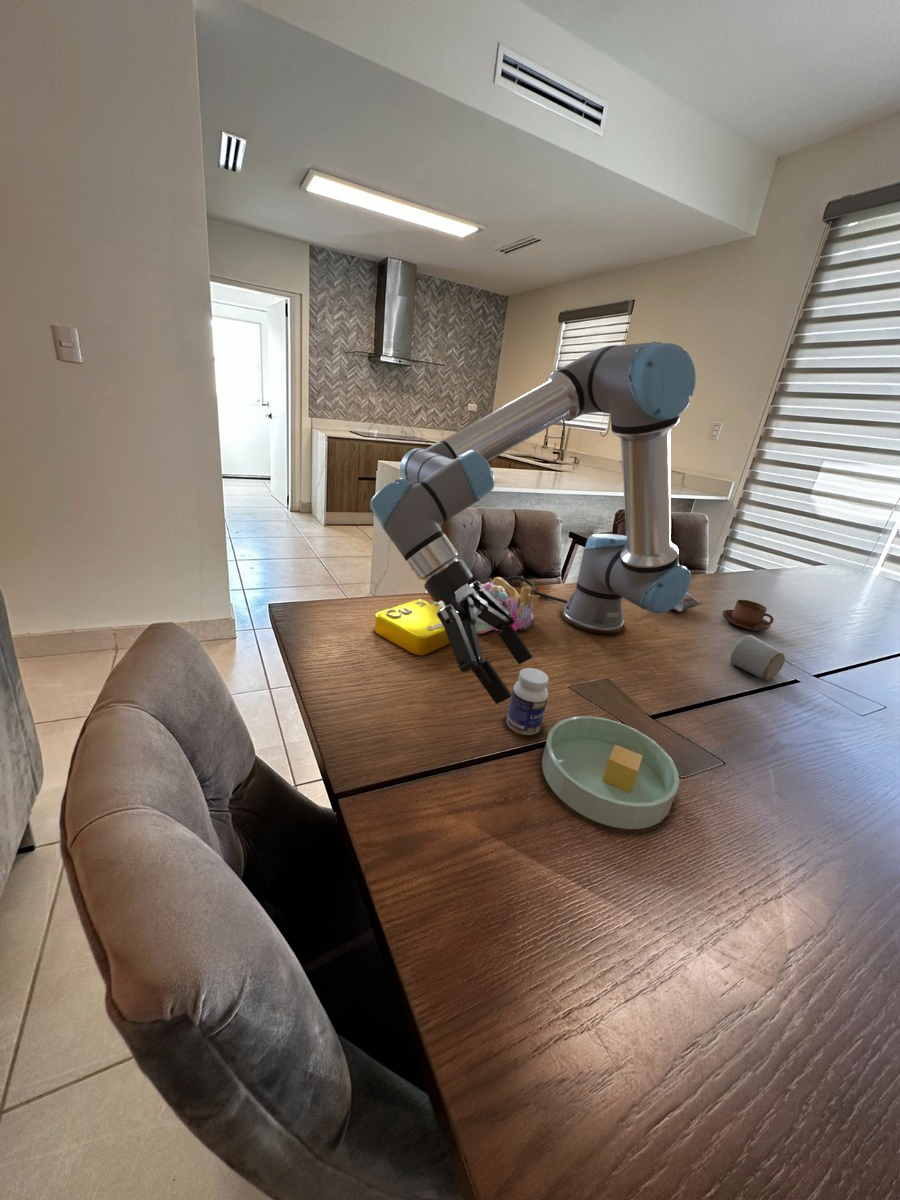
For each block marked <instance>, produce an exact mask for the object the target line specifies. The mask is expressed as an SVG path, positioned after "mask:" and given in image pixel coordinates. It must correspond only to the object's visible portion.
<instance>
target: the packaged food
mask: <svg viewBox="0 0 900 1200" xmlns="http://www.w3.org/2000/svg"><path fill="white" fill-rule="evenodd" d="M701 605H703V601H701V600H698V599H696V597H694V596H693V595H692V594H691V592H687V593H686V594H685V596H684V597H683V598H682V600H681V601H680V602H679V603H678V604H677V605H676V606H675V607H673V608H672V609H671V610H670V611H675V612H678V613H681V612H682V611H685V610H689V609H691V608H695V607H697V606H701Z"/></svg>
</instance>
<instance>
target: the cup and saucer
mask: <svg viewBox="0 0 900 1200" xmlns="http://www.w3.org/2000/svg"><path fill="white" fill-rule="evenodd" d="M767 609H768V608H767V607H766V606H765V605H763V604H761V603H758V602H755V601H752V600H748V599H737V600H736V603H735V605H734V608H733V609H725V610H723V611H722V617H723V618H724V619H725V620H726V621H727V622H728V623H730V624H732V625H733V626H735V627H738V628H741V629H744V630H749V631H756V632H763V631H766V630H770V628H771V627H772V624H773V623H774V617H773V616H772V615H771V614H769V613H766V612H767ZM765 617H768V618H769V620H770V621H768V620H766V619H765Z"/></svg>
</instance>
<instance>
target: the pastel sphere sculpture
mask: <svg viewBox="0 0 900 1200" xmlns="http://www.w3.org/2000/svg"><path fill="white" fill-rule="evenodd" d="M480 584H481V585H482V586H483V587H484V589H485V590H486V591H487V592H488V593H489V594H490V595H491V596H492V597H494V598H495V599H496V600H497V601H498V602H499V603H500V604H501V605H502V606H503V607H504V608H505V609H506V610H507V611H509V612H510V613H511V615H512V617H513V618H514V620H515V623H514V624H512V625H511V626H512V627H513V629H514V630H515V631H516V632H517V631H518V630H519V631H521V630H526V629H527V628H529V627H530V626H531V624H532V621H533V620H534V617H535V615H534V614H533V608H534V607H535V605H536V603H537V602H538V600H539V598H540V596H539V595H537V594H531V592H532V586H530V585H529V584H524V585H522V587H521V590H520V593H519V592H518V591H517V590H516V588H515V587H513V586H512V585H510V584H509V583H508V581H507V580H505V579H504V578H502V577H501V576H496V577H494V578H493V579H492V581H487V582H486V583H480ZM430 600H431V604H432V605H435V606H437V607H439V608H441V609H442V608H444V607H445V604H444V602H443V601H440V602H434V601H433V599H432V598H431V597H430ZM502 615H504V614H502ZM475 629H476V633H477V635H478V634H479V635H480V634H486V633H487V632H490V631H497V632H501V631H502V630H501V631H499V630H497V629H496V628H494V627H492V626H491V625H489V624H488V623H486V622H484V621H483V620H481V619H480V618H478V617H477V618H476V623H475Z"/></svg>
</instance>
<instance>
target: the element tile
mask: <svg viewBox="0 0 900 1200" xmlns="http://www.w3.org/2000/svg"><path fill="white" fill-rule="evenodd" d="M439 610H441V608H439V607H437V606H435V605H432V603H430V602H429V601H426V600H423V599H415V600H411V601H408V602H405V603H402V604H399V605H396V606H393V607H390V608H386V609H383V610H380V611H378V612H377V613H376V614H375V620H374V621H375V622H374V631H375V633H376V634H377V635H379V636H381V637H382V638H384V639H386V640H388V641H389V642H392V643H393V644H395V645H397V646H398V647H400V648H402V649H403V650H406V651H407V652H409V653H411V654H413V655H415V656H425V655H428V654H430V653H432V652H435V651H436V650H439V649H441V648H443V647H445V646H448V645H449V644H450V642H449V639H448V636H447V634H446V631H445V628H444V626H443V624H442V622H441V621H440V619H439V617H438V616H437V612H438V611H439ZM451 621H452V620H451ZM450 645H451V644H450Z"/></svg>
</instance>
